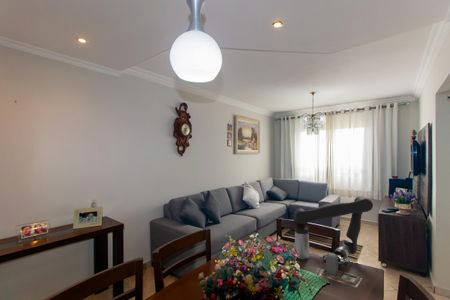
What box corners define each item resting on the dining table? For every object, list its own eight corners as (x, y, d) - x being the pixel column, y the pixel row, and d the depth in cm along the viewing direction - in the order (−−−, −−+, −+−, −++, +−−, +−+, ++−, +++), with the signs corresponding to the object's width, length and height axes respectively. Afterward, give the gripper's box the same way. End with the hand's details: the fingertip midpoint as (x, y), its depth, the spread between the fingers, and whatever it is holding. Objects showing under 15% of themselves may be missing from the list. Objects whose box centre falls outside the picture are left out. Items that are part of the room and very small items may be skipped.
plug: (326, 274, 138) (325, 254, 138) (329, 271, 141) (328, 251, 142) (335, 277, 134) (334, 256, 134) (338, 274, 138) (337, 253, 138)
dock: (318, 276, 137) (318, 272, 137) (326, 268, 146) (326, 265, 146) (356, 288, 124) (356, 285, 124) (362, 279, 132) (362, 276, 132)
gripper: (328, 245, 154) (319, 253, 142) (352, 251, 144) (344, 260, 132) (329, 257, 154) (319, 266, 142) (353, 263, 144) (345, 273, 132)
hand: (331, 263), depth 137 cm, fingers open, 8 cm apart
